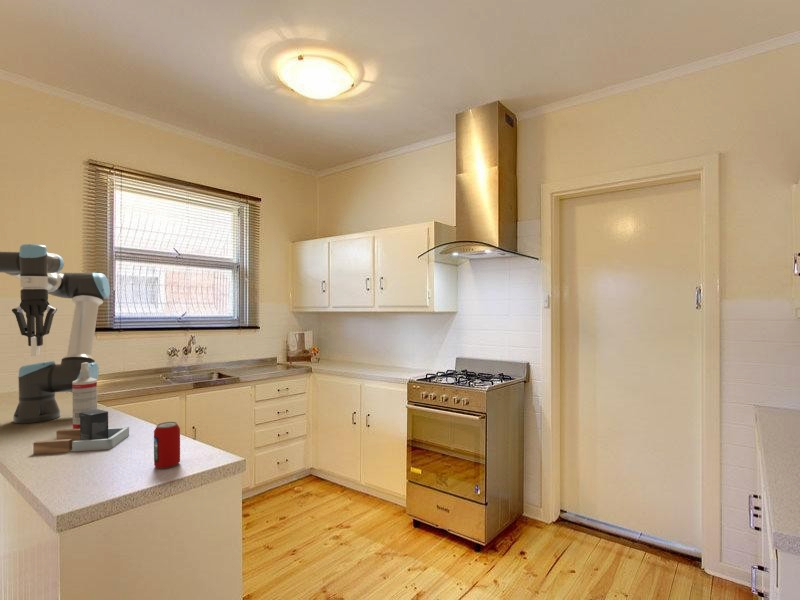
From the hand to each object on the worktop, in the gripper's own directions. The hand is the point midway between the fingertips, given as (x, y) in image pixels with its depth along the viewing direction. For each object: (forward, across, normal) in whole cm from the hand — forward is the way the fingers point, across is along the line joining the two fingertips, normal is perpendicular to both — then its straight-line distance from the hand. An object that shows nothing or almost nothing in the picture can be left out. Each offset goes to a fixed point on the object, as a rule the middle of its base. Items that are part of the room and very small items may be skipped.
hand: (35, 355), depth 158 cm
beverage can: (+28, +53, -42) cm, 73 cm away
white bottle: (+30, +12, +8) cm, 33 cm away
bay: (+29, +26, -13) cm, 41 cm away
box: (+29, +22, -12) cm, 39 cm away
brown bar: (+29, +14, -13) cm, 35 cm away
